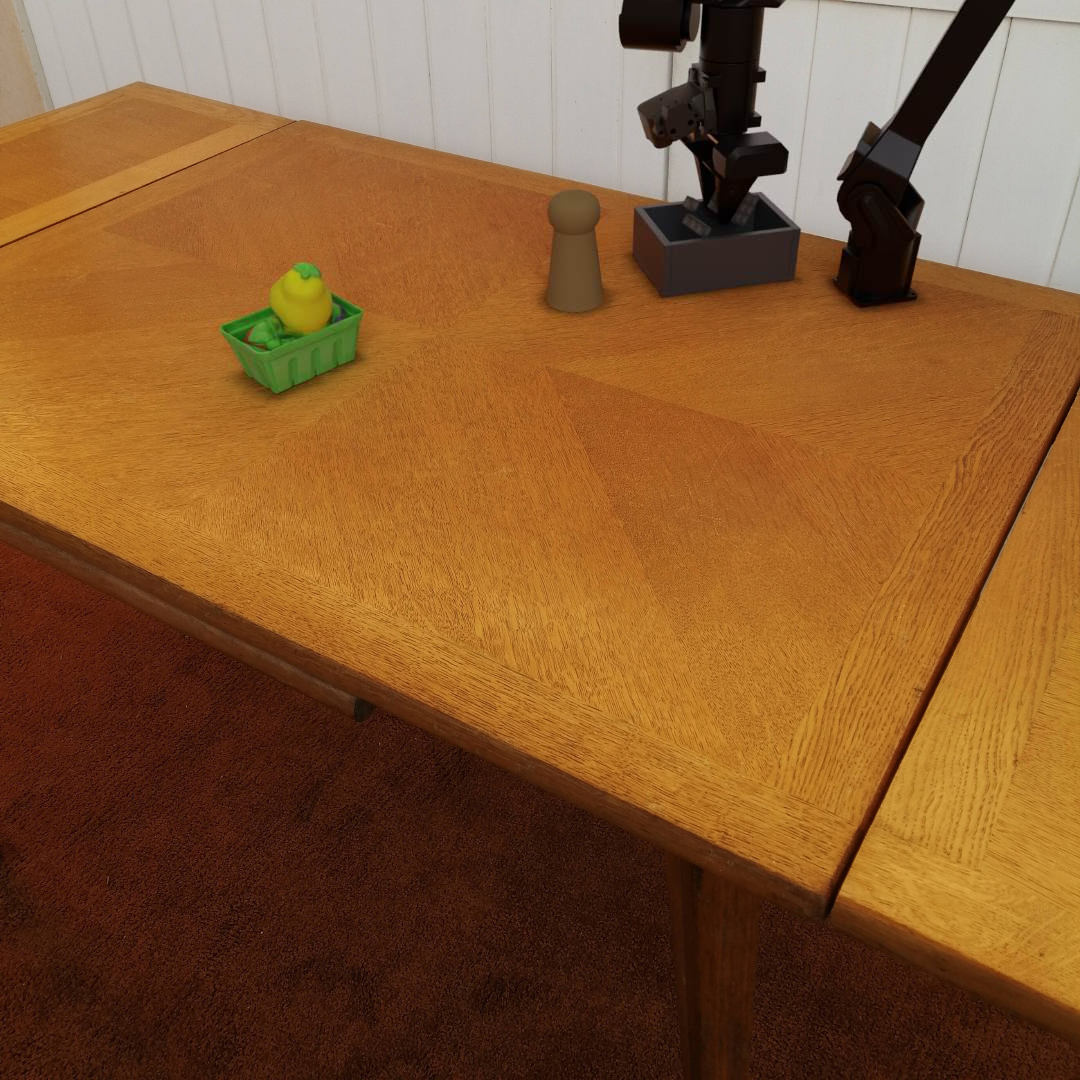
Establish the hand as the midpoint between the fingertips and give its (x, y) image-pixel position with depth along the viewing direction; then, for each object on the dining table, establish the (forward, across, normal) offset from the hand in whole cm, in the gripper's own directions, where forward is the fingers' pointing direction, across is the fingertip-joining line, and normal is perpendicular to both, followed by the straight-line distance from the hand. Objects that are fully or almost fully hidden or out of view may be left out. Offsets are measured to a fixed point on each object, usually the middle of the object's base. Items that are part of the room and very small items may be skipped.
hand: (716, 216), depth 105 cm
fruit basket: (+6, +10, -44) cm, 46 cm away
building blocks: (+1, 0, 0) cm, 1 cm away
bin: (+6, 0, 0) cm, 6 cm away
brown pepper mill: (+6, +3, -16) cm, 17 cm away
